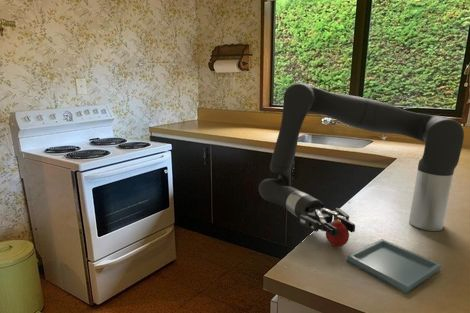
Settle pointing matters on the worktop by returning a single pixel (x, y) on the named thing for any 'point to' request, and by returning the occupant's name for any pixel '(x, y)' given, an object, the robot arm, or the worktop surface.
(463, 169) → the worktop surface
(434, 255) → the worktop surface
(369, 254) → the dish
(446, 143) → the robot arm
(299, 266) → the worktop surface
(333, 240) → the onion
